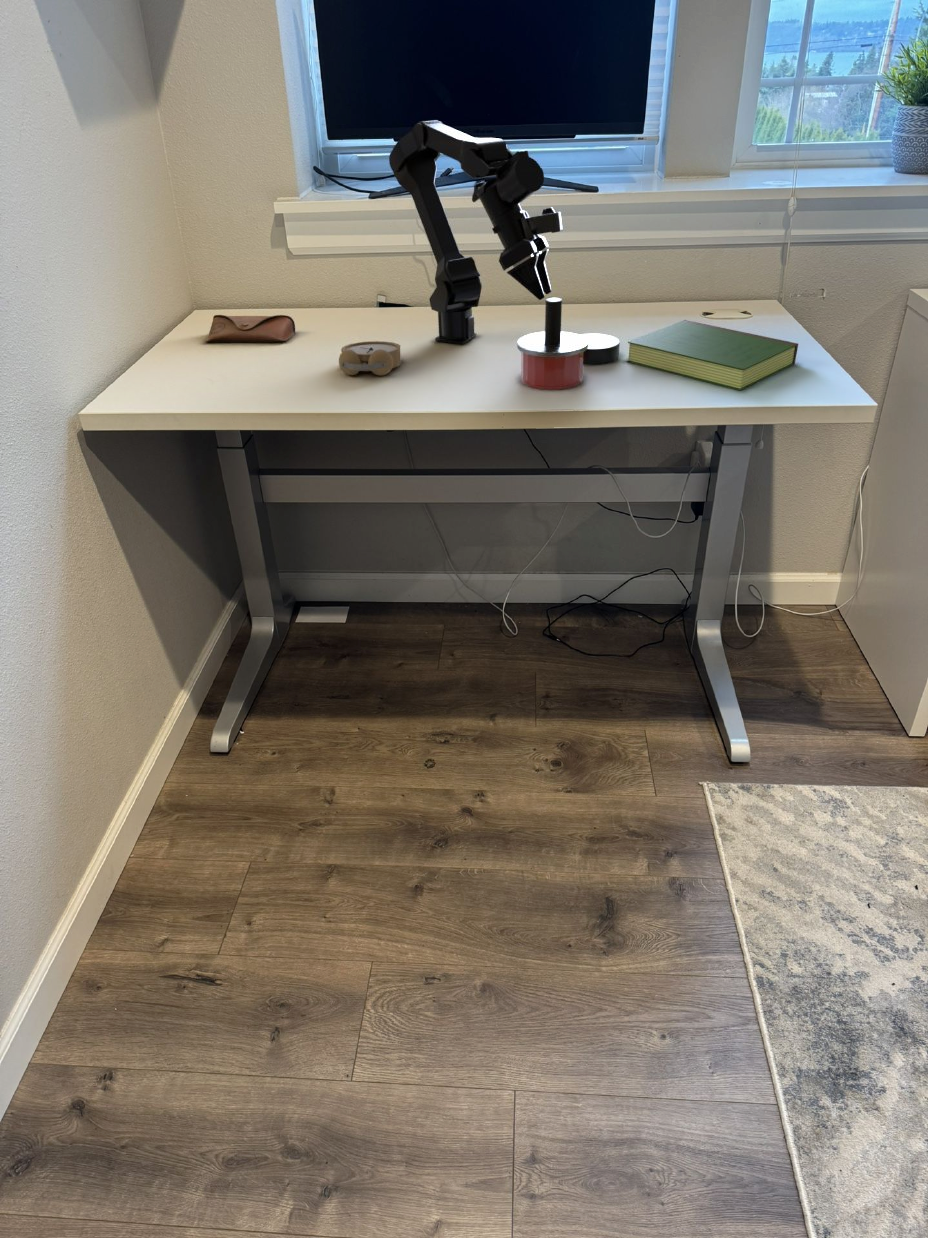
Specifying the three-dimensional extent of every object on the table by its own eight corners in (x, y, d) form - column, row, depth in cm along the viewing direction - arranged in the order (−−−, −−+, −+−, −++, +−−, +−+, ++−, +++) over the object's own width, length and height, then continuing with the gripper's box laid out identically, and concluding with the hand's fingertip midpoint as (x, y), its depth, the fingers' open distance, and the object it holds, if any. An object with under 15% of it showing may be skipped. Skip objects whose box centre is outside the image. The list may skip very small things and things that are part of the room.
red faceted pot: (511, 384, 156) (511, 351, 153) (536, 366, 164) (537, 334, 161) (568, 393, 152) (569, 359, 149) (591, 373, 160) (593, 341, 157)
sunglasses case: (202, 341, 182) (202, 308, 182) (214, 349, 189) (214, 318, 189) (286, 341, 181) (286, 308, 180) (295, 349, 188) (296, 318, 187)
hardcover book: (794, 363, 161) (798, 343, 159) (740, 390, 150) (743, 369, 148) (679, 337, 176) (681, 319, 174) (623, 360, 166) (624, 340, 163)
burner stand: (558, 361, 167) (558, 345, 165) (577, 346, 174) (578, 330, 172) (607, 367, 163) (608, 351, 161) (625, 352, 170) (627, 336, 168)
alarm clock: (405, 341, 170) (390, 350, 157) (406, 367, 172) (391, 378, 159) (349, 340, 171) (329, 350, 158) (350, 366, 174) (331, 378, 160)
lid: (505, 351, 153) (504, 305, 148) (534, 332, 162) (535, 287, 157) (572, 360, 148) (573, 312, 143) (598, 340, 157) (601, 294, 152)
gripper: (537, 188, 144) (580, 277, 148) (552, 188, 160) (590, 268, 165) (480, 225, 148) (522, 310, 153) (500, 221, 164) (538, 298, 169)
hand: (545, 295), depth 160 cm, fingers open, 9 cm apart
